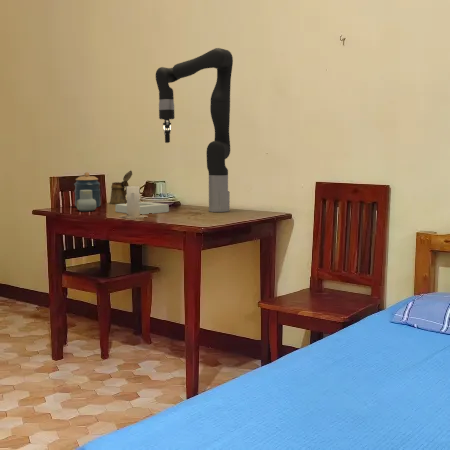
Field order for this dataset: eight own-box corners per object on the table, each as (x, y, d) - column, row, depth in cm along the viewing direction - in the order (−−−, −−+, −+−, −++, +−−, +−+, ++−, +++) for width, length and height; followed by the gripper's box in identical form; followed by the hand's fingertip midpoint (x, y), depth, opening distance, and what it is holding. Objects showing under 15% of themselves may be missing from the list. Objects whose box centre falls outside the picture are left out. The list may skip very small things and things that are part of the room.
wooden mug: (127, 205, 325) (126, 170, 322) (106, 203, 331) (105, 170, 329) (137, 203, 333) (136, 169, 330) (116, 202, 339) (115, 169, 336)
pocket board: (168, 211, 293) (168, 204, 293) (137, 215, 281) (137, 207, 281) (146, 208, 307) (146, 201, 306) (115, 211, 295) (115, 204, 294)
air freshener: (97, 211, 295) (96, 190, 294) (79, 212, 292) (79, 191, 291) (93, 209, 305) (92, 189, 304) (76, 210, 302) (75, 189, 301)
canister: (74, 205, 321) (72, 171, 319) (99, 205, 325) (98, 171, 323) (75, 208, 309) (74, 173, 307) (102, 207, 313) (101, 172, 310)
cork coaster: (147, 217, 273) (147, 216, 273) (130, 219, 267) (130, 217, 267) (136, 215, 279) (136, 214, 279) (119, 217, 273) (119, 215, 273)
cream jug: (127, 215, 276) (126, 186, 274) (140, 215, 276) (139, 185, 274) (126, 217, 268) (126, 187, 266) (139, 217, 268) (139, 187, 267)
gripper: (174, 108, 298) (175, 142, 300) (173, 110, 312) (174, 142, 314) (159, 108, 297) (160, 142, 299) (158, 110, 311) (159, 143, 313)
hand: (167, 142), depth 306 cm, fingers open, 8 cm apart
